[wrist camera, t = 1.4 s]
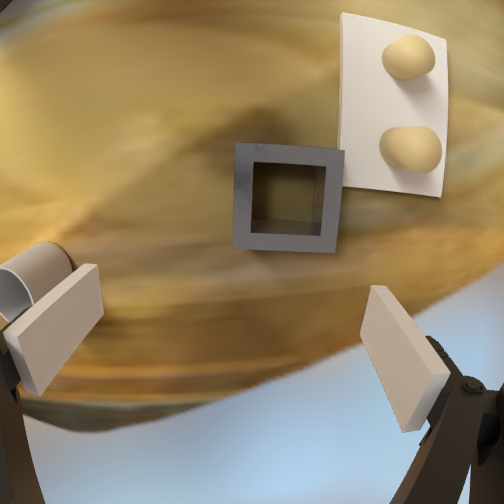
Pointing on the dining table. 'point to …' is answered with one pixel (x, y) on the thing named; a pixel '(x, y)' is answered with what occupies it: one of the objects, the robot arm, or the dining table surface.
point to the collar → (281, 231)
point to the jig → (392, 106)
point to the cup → (31, 277)
